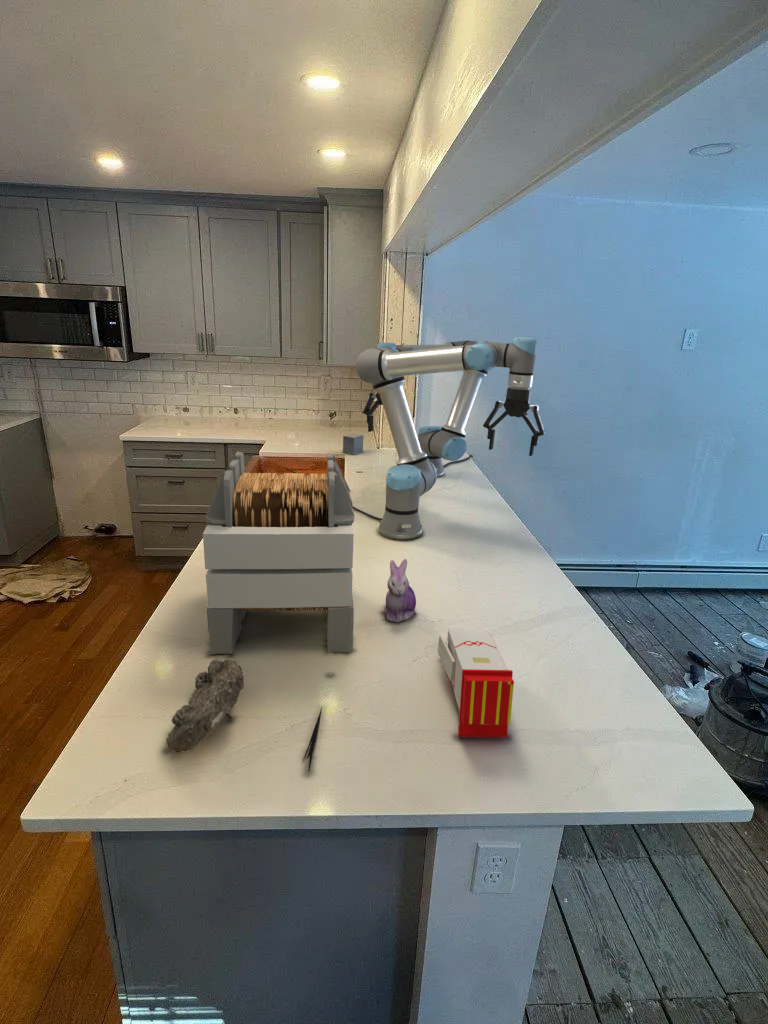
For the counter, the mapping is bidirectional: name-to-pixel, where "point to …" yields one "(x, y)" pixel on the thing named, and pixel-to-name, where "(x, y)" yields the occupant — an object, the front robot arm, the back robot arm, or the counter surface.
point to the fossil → (206, 705)
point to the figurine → (399, 594)
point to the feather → (313, 740)
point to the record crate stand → (279, 550)
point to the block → (352, 444)
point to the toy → (478, 682)
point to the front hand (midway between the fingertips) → (510, 452)
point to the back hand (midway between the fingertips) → (383, 433)
